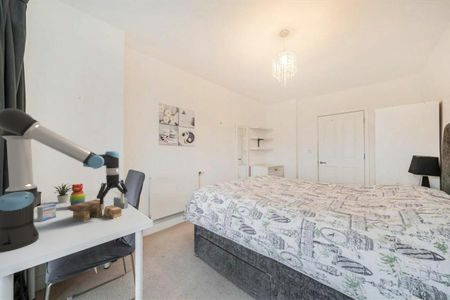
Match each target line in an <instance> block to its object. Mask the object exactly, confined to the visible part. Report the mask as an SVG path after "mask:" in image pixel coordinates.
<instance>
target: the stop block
mask: <svg viewBox="0 0 450 300" xmlns="http://www.w3.org/2000/svg"><path fill="white" fill-rule="evenodd" d="M128 202H129V201H128V197H125V198H124V203H121V196H114V197H113V206H116V207H119V208H121V209H126V208H129V203H128Z"/></svg>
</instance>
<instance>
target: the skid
mask: <svg viewBox="0 0 450 300" xmlns="http://www.w3.org/2000/svg"><path fill="white" fill-rule="evenodd" d="M103 216H104V217H106V218H107V217H108V218H110V219H112V218H113V220H115V219H118V218H117V217H119V218H121V217H122V208H119V207H116V206H114V204H113V205H111V204H110V205H107V206H105V209H103ZM120 216H121V217H120ZM114 218H115V219H114Z"/></svg>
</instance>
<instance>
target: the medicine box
mask: <svg viewBox="0 0 450 300" xmlns="http://www.w3.org/2000/svg"><path fill="white" fill-rule="evenodd" d="M36 207H37V208H36V211H37V213H36V218H37V222H46V221H48V220H51V219H55V218H56V217H57V204H56V203H48V204H45V205H41V206H36Z"/></svg>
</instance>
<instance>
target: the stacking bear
mask: <svg viewBox="0 0 450 300" xmlns="http://www.w3.org/2000/svg"><path fill="white" fill-rule="evenodd" d="M71 188H72V189H71V194H70V196H69V202H70V205H69V206H71V205H75V204H79V203H83V202H86V194H85V192H84V191H83V189H84V186H83V183H80V184H79V183H77V184H71ZM69 206H67V210H68V211H70V210H69Z"/></svg>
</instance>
